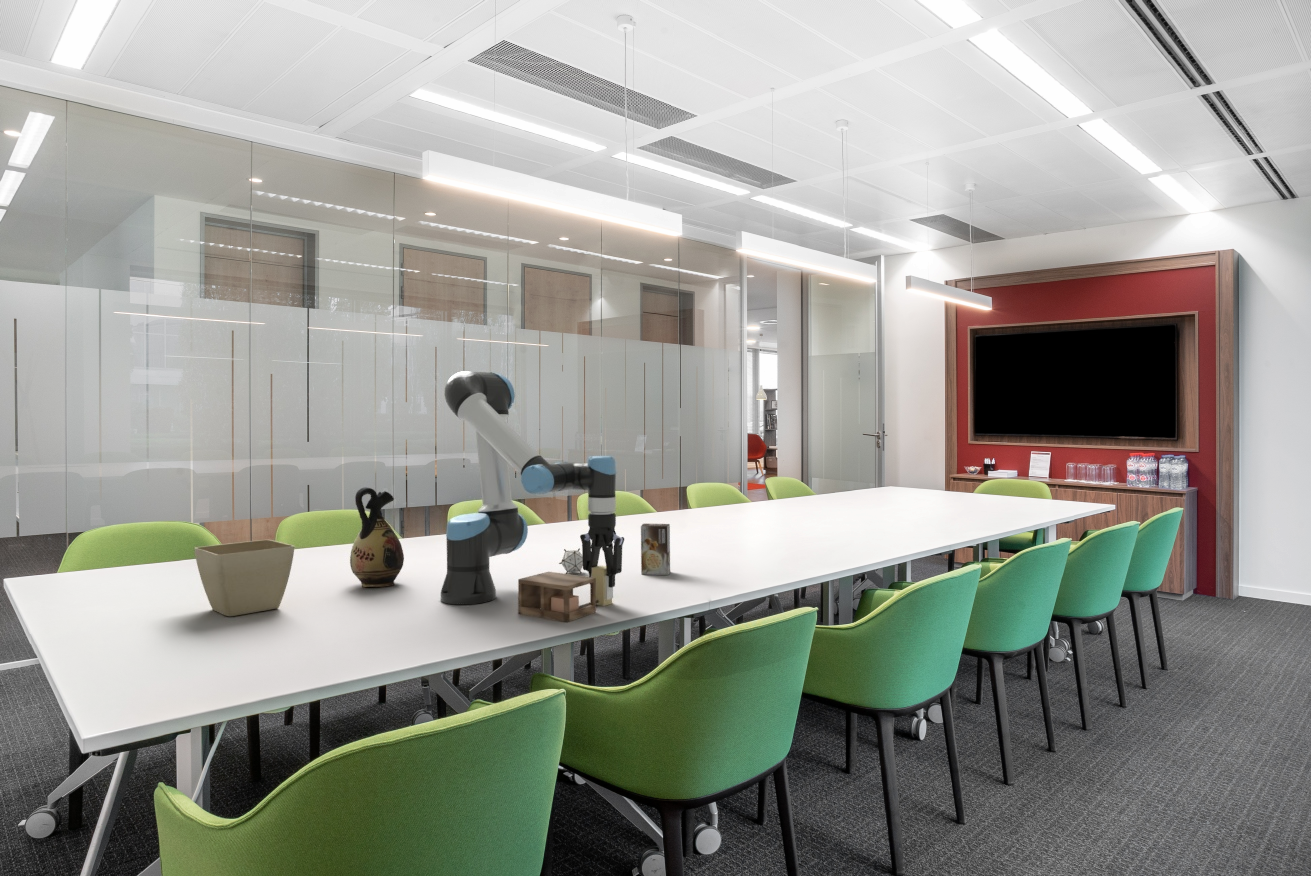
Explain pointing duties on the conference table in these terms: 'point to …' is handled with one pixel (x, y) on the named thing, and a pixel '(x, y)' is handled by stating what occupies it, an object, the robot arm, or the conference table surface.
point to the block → (558, 600)
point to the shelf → (549, 584)
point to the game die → (572, 561)
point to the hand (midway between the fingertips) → (602, 597)
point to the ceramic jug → (375, 543)
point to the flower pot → (245, 575)
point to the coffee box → (655, 549)
